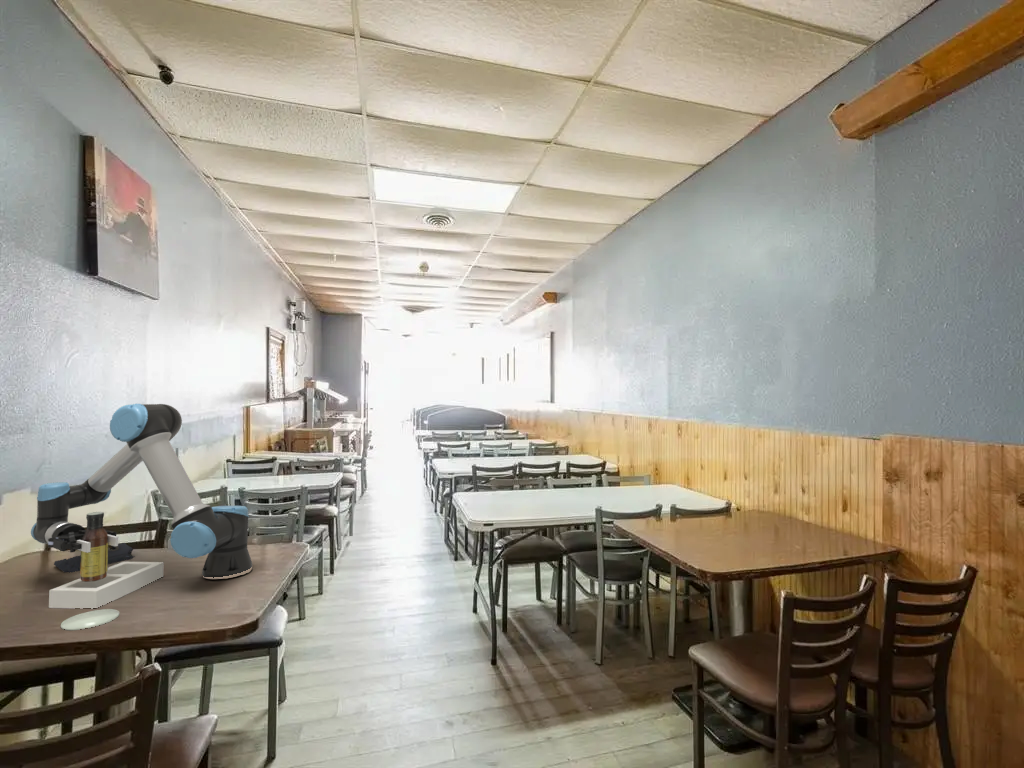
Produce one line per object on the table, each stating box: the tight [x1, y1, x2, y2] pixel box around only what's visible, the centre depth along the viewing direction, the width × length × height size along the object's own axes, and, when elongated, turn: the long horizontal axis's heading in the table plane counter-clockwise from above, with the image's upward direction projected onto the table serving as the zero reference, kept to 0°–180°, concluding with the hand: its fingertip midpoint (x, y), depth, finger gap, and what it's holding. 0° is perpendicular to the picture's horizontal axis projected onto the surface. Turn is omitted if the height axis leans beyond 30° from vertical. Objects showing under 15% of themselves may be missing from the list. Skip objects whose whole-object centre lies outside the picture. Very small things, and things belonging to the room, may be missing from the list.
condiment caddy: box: [48, 561, 165, 610], centre depth 153 cm, size 14×26×5 cm, turn 178°
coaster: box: [60, 608, 120, 631], centre depth 133 cm, size 12×12×1 cm
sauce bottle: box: [79, 511, 109, 582], centre depth 148 cm, size 7×6×20 cm
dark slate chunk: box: [53, 542, 136, 574], centre depth 182 cm, size 15×22×5 cm
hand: (103, 544), depth 145 cm, fingers closed on sauce bottle, 6 cm apart
